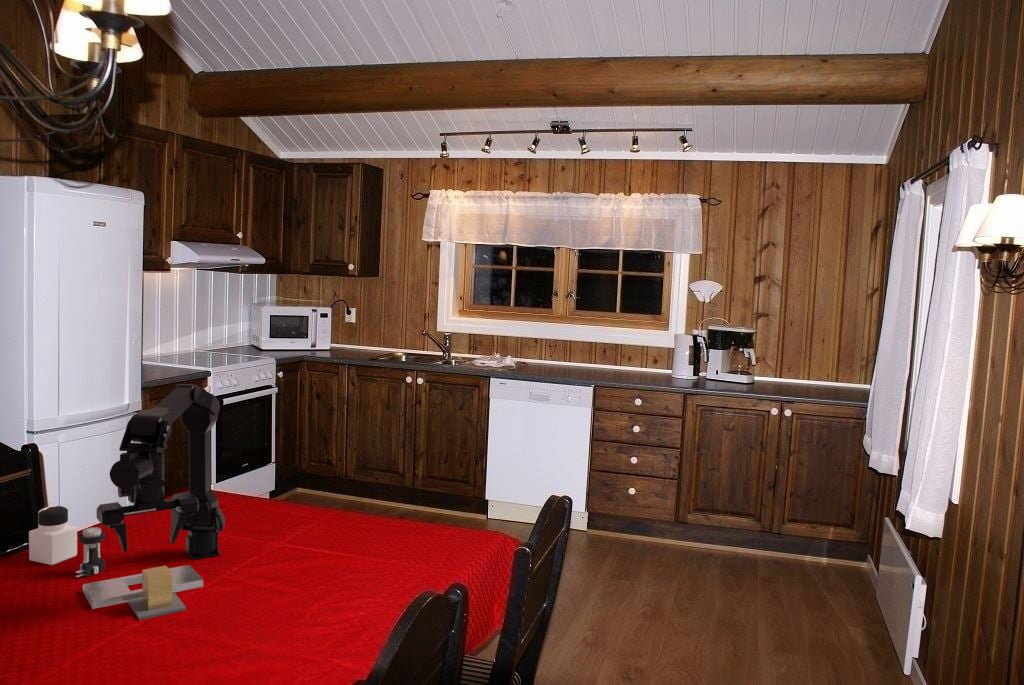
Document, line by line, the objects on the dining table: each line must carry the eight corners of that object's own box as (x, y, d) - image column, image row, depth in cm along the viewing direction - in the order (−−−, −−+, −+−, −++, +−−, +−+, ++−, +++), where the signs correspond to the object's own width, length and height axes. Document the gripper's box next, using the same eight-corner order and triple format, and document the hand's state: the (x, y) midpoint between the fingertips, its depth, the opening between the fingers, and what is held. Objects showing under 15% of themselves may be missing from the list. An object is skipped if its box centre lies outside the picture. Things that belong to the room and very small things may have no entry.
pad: (173, 594, 174) (173, 591, 174) (186, 610, 167) (186, 607, 167) (128, 603, 168) (128, 600, 168) (139, 620, 161) (139, 617, 161)
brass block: (165, 597, 171) (166, 565, 170) (172, 605, 167) (172, 572, 166) (142, 602, 168) (142, 569, 167) (148, 610, 164) (148, 577, 164)
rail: (189, 571, 186) (189, 564, 186) (203, 586, 179) (203, 579, 178) (82, 591, 173) (82, 584, 173) (92, 608, 165) (92, 601, 165)
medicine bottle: (77, 555, 192) (77, 506, 191) (51, 565, 186) (51, 514, 184) (54, 550, 195) (54, 502, 193) (28, 560, 188) (28, 510, 187)
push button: (84, 581, 178) (84, 537, 177) (67, 576, 180) (67, 532, 179) (110, 571, 184) (110, 528, 183) (93, 566, 186) (93, 524, 185)
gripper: (183, 460, 179) (183, 528, 180) (90, 471, 167) (90, 544, 169) (200, 472, 170) (199, 544, 172) (102, 485, 158) (103, 561, 160)
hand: (149, 547), depth 168 cm, fingers open, 9 cm apart
